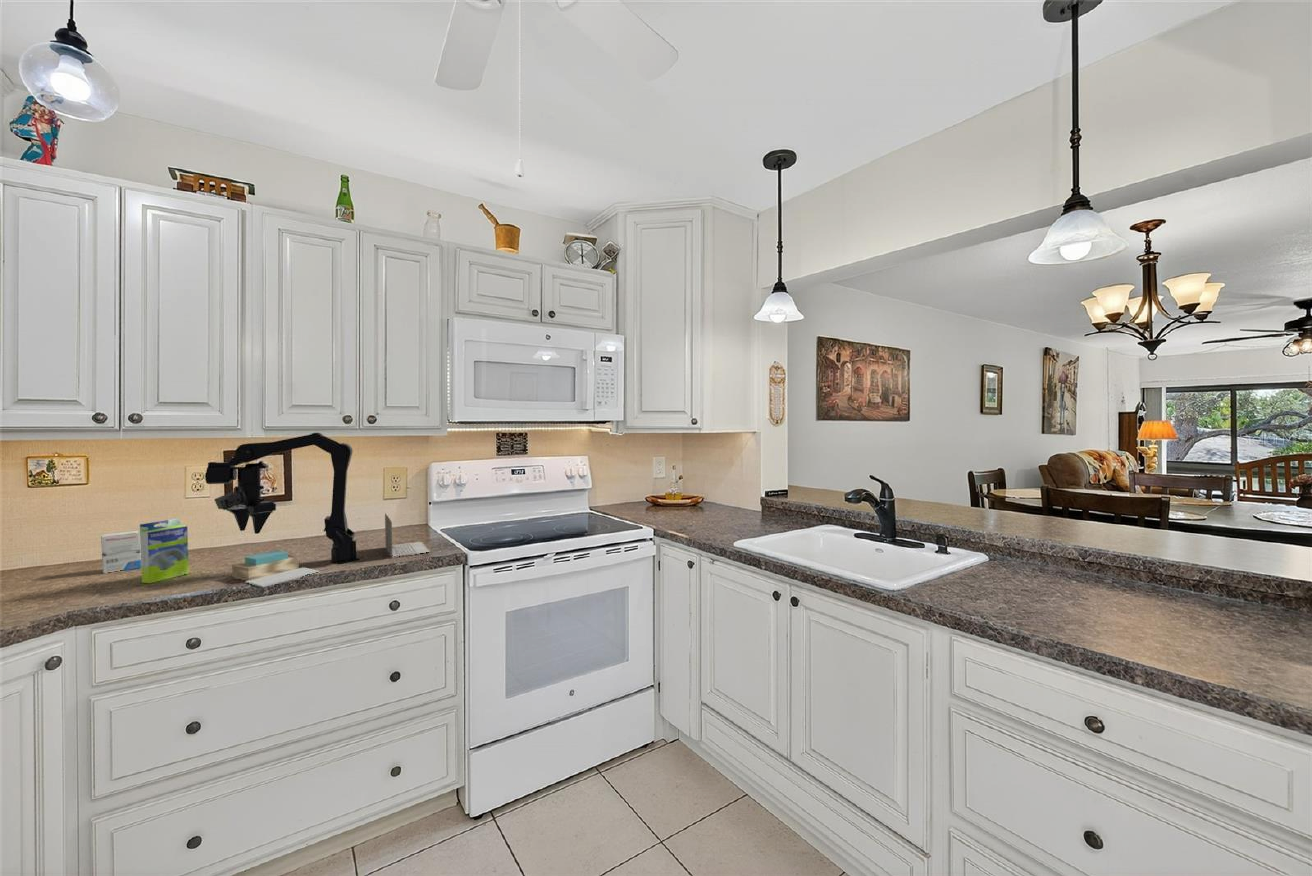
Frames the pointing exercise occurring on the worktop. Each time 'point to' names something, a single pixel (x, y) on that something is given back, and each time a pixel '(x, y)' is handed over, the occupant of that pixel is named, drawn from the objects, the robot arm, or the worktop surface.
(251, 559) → the teal rectangular block
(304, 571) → the mat
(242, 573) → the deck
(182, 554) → the box
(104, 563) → the ink box
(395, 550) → the laptop
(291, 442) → the robot arm
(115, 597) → the worktop surface
